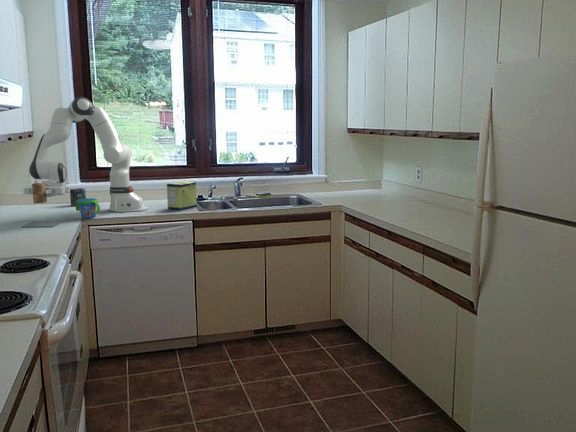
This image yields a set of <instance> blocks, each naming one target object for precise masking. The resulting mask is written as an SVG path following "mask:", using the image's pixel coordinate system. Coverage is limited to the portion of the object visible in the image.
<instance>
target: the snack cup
mask: <svg viewBox="0 0 576 432" xmlns="http://www.w3.org/2000/svg"><path fill="white" fill-rule="evenodd" d="M75 210H76V211H77V212H79V213H80V216H81V218H82V219H94V218H95V217H96V216H97V214H98V213H100V212H101V206H100V203H99V202H98V199H97V198H92V197H91V198H90V197H89V198H86V199H80V200H77V203H76V206H75Z"/></svg>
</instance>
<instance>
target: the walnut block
mask: <svg viewBox="0 0 576 432" xmlns="http://www.w3.org/2000/svg"><path fill="white" fill-rule="evenodd" d="M31 186H32V191H33V194H32V200H33V201H32V202H33V204H45V203H47V202H48V197H47V194H44V190H46V183H43V182H33V183H31Z"/></svg>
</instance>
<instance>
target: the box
mask: <svg viewBox="0 0 576 432" xmlns="http://www.w3.org/2000/svg"><path fill="white" fill-rule="evenodd" d="M69 196H70V206H72V207H74V208H76V203H77V200H80V199H87V195H86V188H82V187H80V188H79V187H77V188H70V189H69Z"/></svg>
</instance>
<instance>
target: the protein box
mask: <svg viewBox="0 0 576 432" xmlns="http://www.w3.org/2000/svg"><path fill="white" fill-rule="evenodd" d="M166 192H167V194H166V195H167V196H166V198H167V199H166V200H167V210H175V211H184V210H188V209H193V208H197V205H198V204H197V182H196V181H183V180H181V181H176V182H170V183H166Z"/></svg>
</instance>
